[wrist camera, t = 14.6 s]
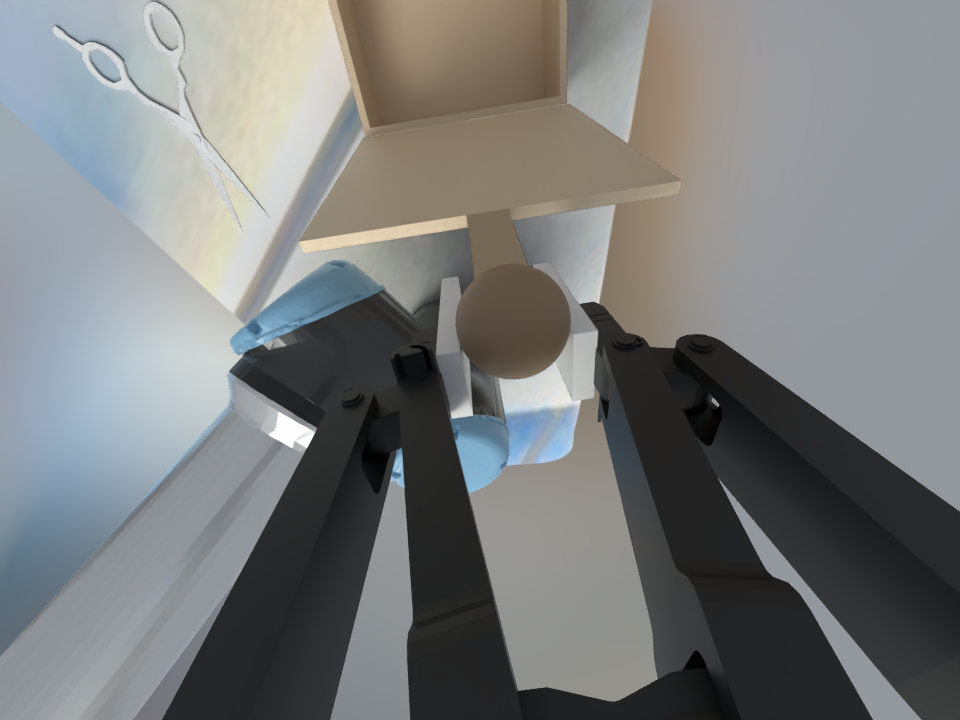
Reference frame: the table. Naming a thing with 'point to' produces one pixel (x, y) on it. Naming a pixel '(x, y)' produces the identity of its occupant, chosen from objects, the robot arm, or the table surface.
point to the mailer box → (451, 59)
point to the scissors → (182, 121)
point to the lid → (489, 214)
